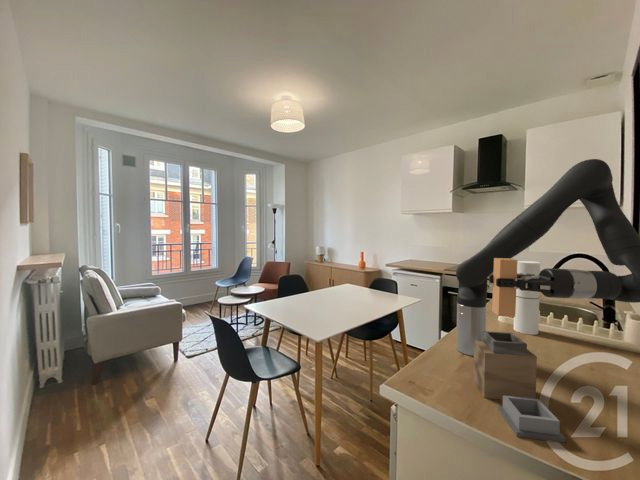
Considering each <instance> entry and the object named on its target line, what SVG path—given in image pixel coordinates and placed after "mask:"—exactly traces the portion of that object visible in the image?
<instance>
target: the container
mask: <svg viewBox="0 0 640 480" xmlns="http://www.w3.org/2000/svg"><path fill="white" fill-rule="evenodd" d="M540 272H541V262H540V261H533V260H532V261H531V260H518V263H517V274H518V273H522V274H535V275H537V276H538V275H539V274H540ZM539 317H540V292H535V291H525V290H524V291H522V290H520V289H516V312H515V317H513V330H514V331H515V332H517V333H519V332H520V334H523V335H531V336H534V335H539V324H540V323H539V321H540V320H539V319H540V318H539Z"/></svg>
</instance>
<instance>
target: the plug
mask: <svg viewBox="0 0 640 480" xmlns="http://www.w3.org/2000/svg"><path fill="white" fill-rule="evenodd" d="M518 261H519V260H517V259H514V258H511V259H510V258H494V272H492V275H493V283H492V299H491V300H492V303H491V306H492V307H491V311H492V313H494V314H495V315H496V316H498V317H509V318H510V317H511V318H514V317H515V312H516V289H515V288H513V287H498V286H496V279H497V278H508V279H513V280H514V278H517V263H518Z"/></svg>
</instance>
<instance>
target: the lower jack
mask: <svg viewBox="0 0 640 480" xmlns="http://www.w3.org/2000/svg"><path fill="white" fill-rule="evenodd" d="M497 410H498V412H499V413H500V414H501V416H502V417H503V418H504V420H505V422H506V423H507V425H508V426H509V428H510V429H511V430H512V431H513V433H514V435H515V436H516V437H518V438H523V439H525V438H527V439H534V440H543V441H548V440H550V441H551V442H556V441H558V443H566V437H565V436H564V434H562V433H561V432H560V429H561V428H560V426H561V425H560V423H561V422H560V420H559V419H558V417H556V415H554V414H553V413H552V411H551V410H550V409H549V408H548V407H547V406H546V405H545V404H544V403H543V402H542V401H541V400H540V399H539V398H536V399H533V398H523V397H513V396H503V399H502V405H497Z"/></svg>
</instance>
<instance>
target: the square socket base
mask: <svg viewBox="0 0 640 480" xmlns="http://www.w3.org/2000/svg"><path fill="white" fill-rule="evenodd" d="M537 358H538V356H537V355H535V354H534V353H533V352H531V351H530V350H529V349H528V344H527V343H526V342H525V341H524V340H522V339H521V338H520V337H518V336H517V335H515V334H514V333H513V332H502V331H490V330H489V331H487V330H486V331H483V340H482V341H474V356H473V370H472V371H473V372H472V373H473V374H472V377H473V378H472V381H473V383H474V384H475V386H476V387H477V389H478V390H479V392H480V394H481V395H482V397H483V398H486V399H494V400H495V399H497V400H503V396H513V397H523V398H533V399H537V396H536V395H537V367H538V366H537V364H538V363H537V361H538V360H537Z"/></svg>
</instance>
